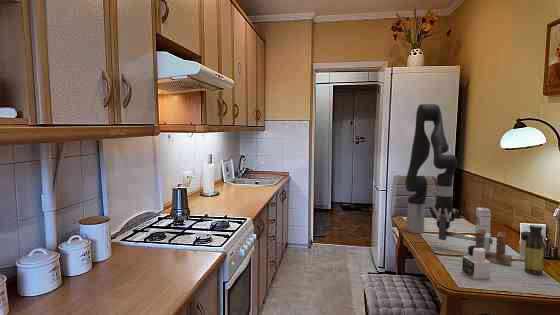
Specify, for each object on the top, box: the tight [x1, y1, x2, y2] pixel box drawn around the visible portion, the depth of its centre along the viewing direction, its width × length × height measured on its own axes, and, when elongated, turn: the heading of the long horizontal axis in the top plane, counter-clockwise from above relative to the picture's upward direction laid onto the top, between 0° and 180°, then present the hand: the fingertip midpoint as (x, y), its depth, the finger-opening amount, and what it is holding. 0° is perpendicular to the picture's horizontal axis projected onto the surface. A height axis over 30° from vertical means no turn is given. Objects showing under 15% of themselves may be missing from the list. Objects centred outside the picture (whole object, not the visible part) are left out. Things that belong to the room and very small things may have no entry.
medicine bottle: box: [461, 244, 491, 280], centre depth 132 cm, size 7×7×12 cm
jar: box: [519, 231, 544, 262], centre depth 148 cm, size 9×8×12 cm
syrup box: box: [475, 207, 491, 234], centre depth 186 cm, size 6×6×14 cm
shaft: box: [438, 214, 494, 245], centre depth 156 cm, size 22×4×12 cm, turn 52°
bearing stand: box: [475, 229, 512, 267], centre depth 150 cm, size 16×12×12 cm
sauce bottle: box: [524, 224, 545, 275], centre depth 134 cm, size 6×6×20 cm
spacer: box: [483, 233, 492, 252], centre depth 151 cm, size 2×7×7 cm, turn 142°
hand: (443, 227), depth 162 cm, fingers closed on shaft, 3 cm apart
